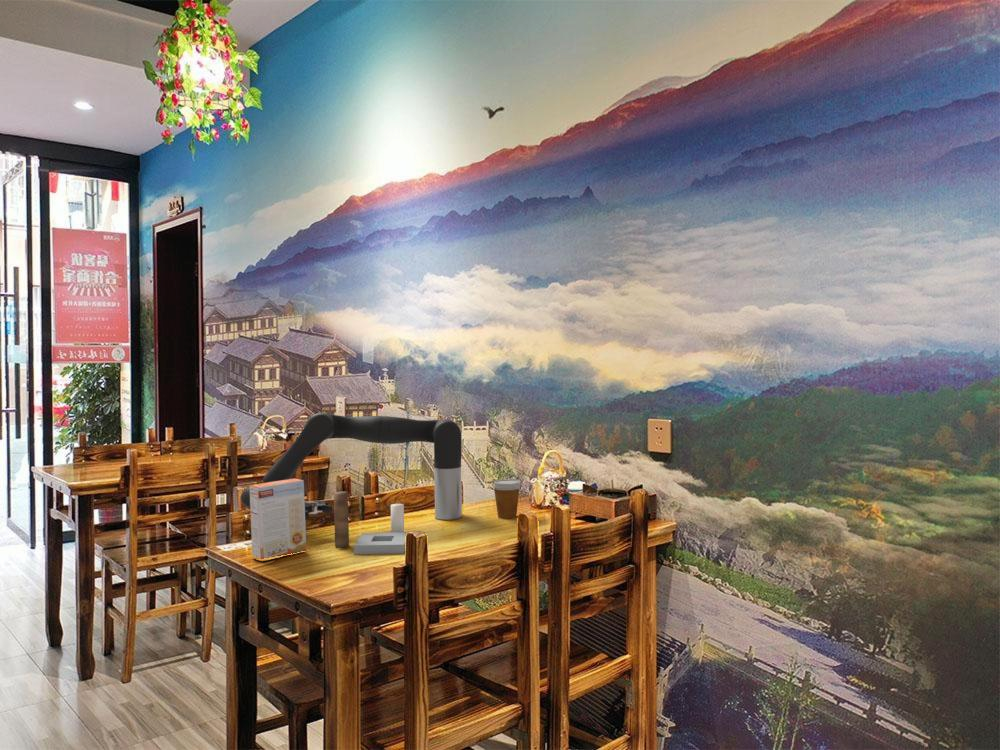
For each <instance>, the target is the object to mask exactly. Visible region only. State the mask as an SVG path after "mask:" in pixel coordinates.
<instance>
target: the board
mask: <svg viewBox="0 0 1000 750" xmlns="http://www.w3.org/2000/svg"><path fill="white" fill-rule="evenodd" d="M407 533H408V531H404V532H395V533H391V532H363V533H362V534H361V535H360V536H359V538H358V539H357V541H356V542H355V544H354V545H353V555H380V554H381V555H385V554H388V555H391V554H395V555H396V554H405V552H406V550H405V536H406V534H407ZM404 551H405V552H404Z"/></svg>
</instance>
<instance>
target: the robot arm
mask: <svg viewBox="0 0 1000 750" xmlns="http://www.w3.org/2000/svg"><path fill="white" fill-rule="evenodd" d="M330 439H351V440H352V439H353V440H358V441H362V442H366V443H372V444H373V443H374V444H384V445H385V444H387V445H391V444H393V445H396V444H407V443H413V442H422V443H424V442H425V443H430V444H433V472H434V473H433V478H434V518H435V519H437V520H446V521H447V520H448V521H451V520H458V519H460V517H461V518H462V517H463V508H462V507H463V495H462V493H463V491H462V431H461V428H460V426H459V425H458V424H457V423H456V421H454V420H451V419H448V418H444V419H433V420H432V419H431V420H430V419H429V420H427V419H426V420H424V419H423V420H422V419H421V420H420V419H419V420H418V419H412V418H407V417H399V416H398V417H397V416H387V415H364V416H362V415H361V416H345V415H340V414H339V415H337V414H331V413H326V412H318V413H315V414H313V415H311V416H310V417H309V418H308V419H307V421H306V424H305V425H304V427H303V429H302V430H301V432H300V433H299V435H298V436H297V438H296V440H295V441H293V443H292V445H290V446H289V448H288V449H287V450H286V451H285V452H284V453H283V455H281V456H280V457H279V458H278V459H277V460H276V461H275V463H273V465H271V468H269V469H268V471H267V472H266V473H265V474H264V476H263V478H262V482H263V483H268V482H274V481H281V480H288V479H292V477H293V476H294V475H295V473H296V472H297V470H298V469H299V468H300V466H301V465H302V464H303V462H304V461H305V460H306V458H307V457H308V456H309V455H310V454H311V453H312V452H313V451H314V450H315V449H316V448H317V447H318V446H320V444H322V443H323V442H324V441H326V440H330ZM240 502H241V504H242V506H244V507H245V508H247V509H249V510H250V489H249V487H247V488H245V489H244V490H243V491H242V492H241V495H240ZM313 508H314V509H313ZM313 510H314V511H313ZM318 513H325V514H332V513H333V507H332V505H329V502H328V501H322V500H314V502H313V501H307V500H306V501H305V520H307V519H309V518H310V515H317V514H318Z"/></svg>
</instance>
